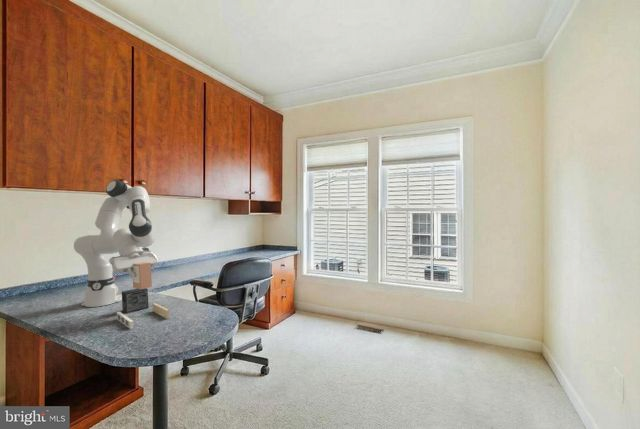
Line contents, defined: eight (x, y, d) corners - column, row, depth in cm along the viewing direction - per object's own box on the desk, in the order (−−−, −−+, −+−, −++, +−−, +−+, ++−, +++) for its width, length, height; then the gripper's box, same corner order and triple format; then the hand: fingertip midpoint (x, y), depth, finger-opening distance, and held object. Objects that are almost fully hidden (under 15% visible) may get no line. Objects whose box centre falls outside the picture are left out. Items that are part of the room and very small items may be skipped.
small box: (144, 305, 158) (143, 286, 158) (149, 308, 154) (148, 288, 154) (121, 311, 150) (121, 291, 150) (126, 313, 146) (125, 292, 146)
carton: (143, 285, 148) (142, 262, 148) (151, 286, 143) (150, 262, 143) (132, 287, 144) (131, 263, 144) (140, 289, 139) (139, 264, 139)
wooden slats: (116, 319, 138) (115, 310, 138) (153, 310, 151) (153, 302, 151) (129, 329, 125) (129, 320, 125) (169, 318, 137) (169, 309, 137)
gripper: (109, 253, 139) (120, 275, 133) (153, 247, 156) (164, 266, 150) (106, 262, 141) (116, 284, 136) (149, 255, 158) (160, 274, 153)
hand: (142, 274), depth 143 cm, fingers closed on carton, 5 cm apart
